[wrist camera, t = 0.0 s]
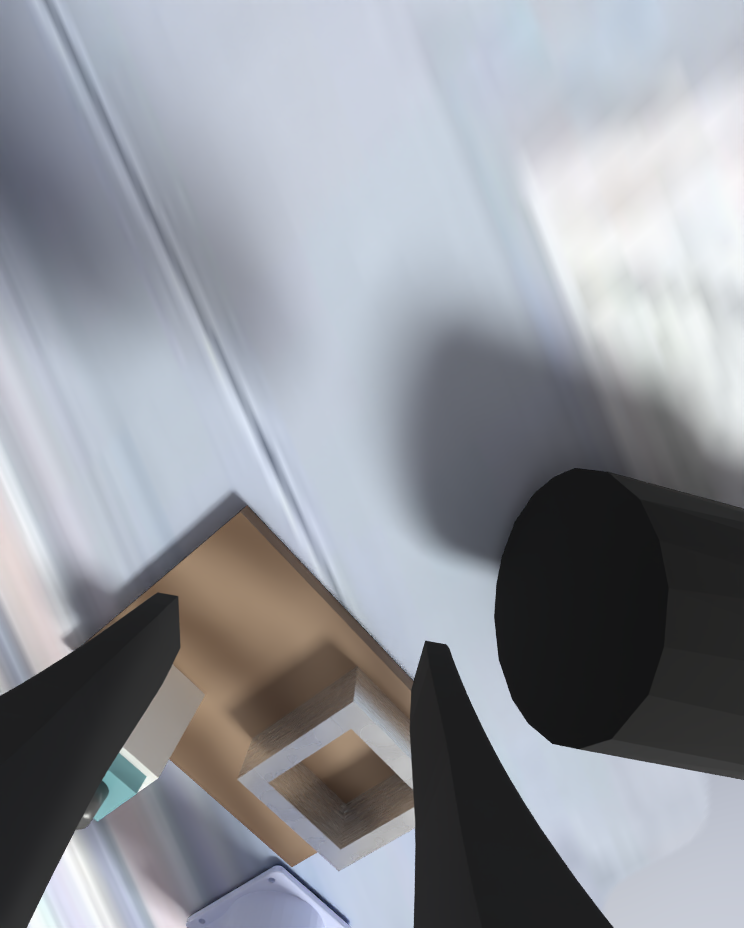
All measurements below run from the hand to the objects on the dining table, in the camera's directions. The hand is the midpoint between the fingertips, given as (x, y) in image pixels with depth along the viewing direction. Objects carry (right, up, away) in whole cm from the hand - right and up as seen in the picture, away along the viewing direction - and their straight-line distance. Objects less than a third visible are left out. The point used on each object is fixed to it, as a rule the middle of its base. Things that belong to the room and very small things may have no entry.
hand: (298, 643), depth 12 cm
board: (-4, -9, +13) cm, 17 cm away
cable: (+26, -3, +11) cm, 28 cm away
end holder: (+1, -12, +13) cm, 18 cm away
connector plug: (-10, -8, +12) cm, 18 cm away
